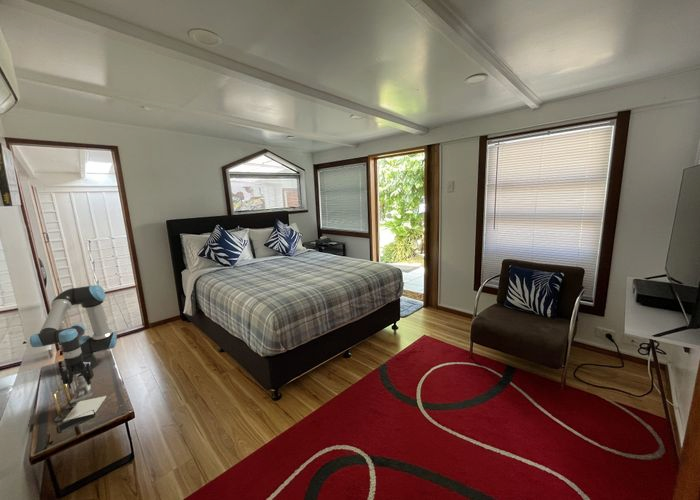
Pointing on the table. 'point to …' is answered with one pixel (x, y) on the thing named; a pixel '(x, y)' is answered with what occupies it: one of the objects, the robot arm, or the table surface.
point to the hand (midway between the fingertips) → (81, 390)
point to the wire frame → (70, 405)
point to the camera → (81, 389)
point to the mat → (85, 408)
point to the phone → (74, 422)
